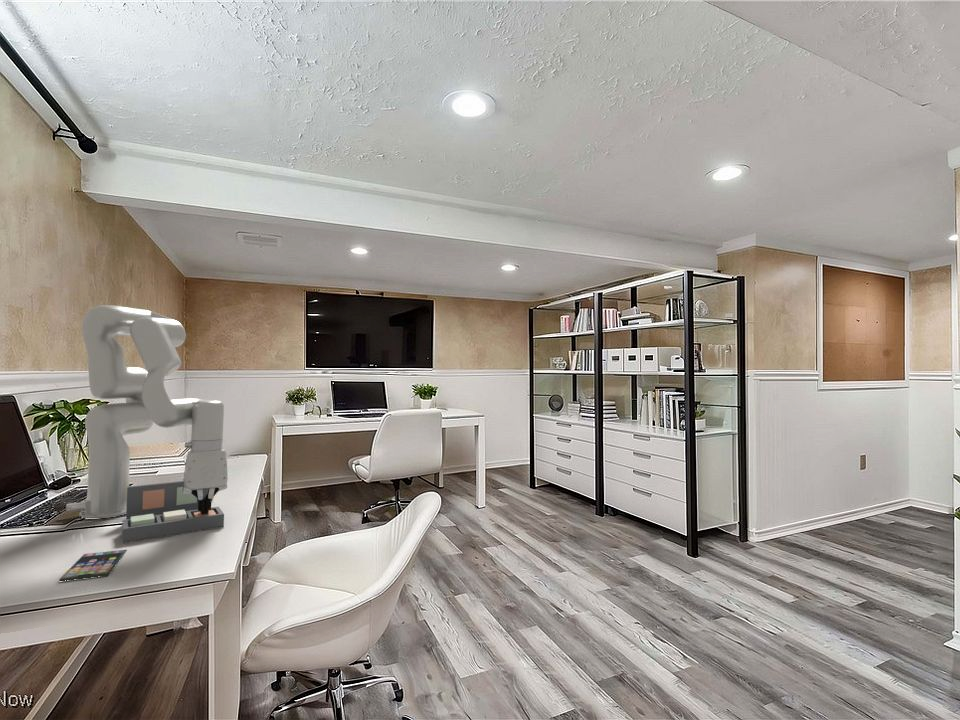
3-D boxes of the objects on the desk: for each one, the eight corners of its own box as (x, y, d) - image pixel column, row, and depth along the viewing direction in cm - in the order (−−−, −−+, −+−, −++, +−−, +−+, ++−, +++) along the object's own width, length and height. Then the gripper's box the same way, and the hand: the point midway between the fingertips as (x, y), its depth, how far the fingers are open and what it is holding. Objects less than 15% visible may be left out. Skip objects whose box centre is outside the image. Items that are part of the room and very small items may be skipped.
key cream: (164, 526, 124) (164, 517, 124) (162, 521, 128) (163, 512, 128) (186, 523, 127) (186, 513, 127) (184, 518, 131) (184, 509, 131)
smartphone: (126, 552, 114) (126, 547, 114) (108, 578, 100) (108, 572, 100) (83, 557, 110) (84, 551, 110) (58, 584, 97) (59, 578, 97)
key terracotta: (195, 526, 129) (196, 517, 129) (193, 521, 132) (193, 512, 132) (216, 523, 132) (216, 514, 132) (213, 518, 135) (213, 509, 135)
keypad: (122, 543, 118) (124, 502, 118) (121, 522, 133) (122, 486, 133) (223, 526, 131) (224, 490, 131) (212, 509, 146) (213, 476, 146)
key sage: (131, 531, 120) (131, 521, 120) (130, 526, 124) (130, 516, 124) (154, 528, 123) (154, 518, 123) (152, 523, 127) (153, 513, 127)
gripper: (176, 450, 125) (173, 521, 125) (239, 445, 134) (237, 512, 134) (173, 445, 131) (170, 513, 130) (234, 441, 140) (231, 505, 140)
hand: (204, 512), depth 132 cm, fingers closed
